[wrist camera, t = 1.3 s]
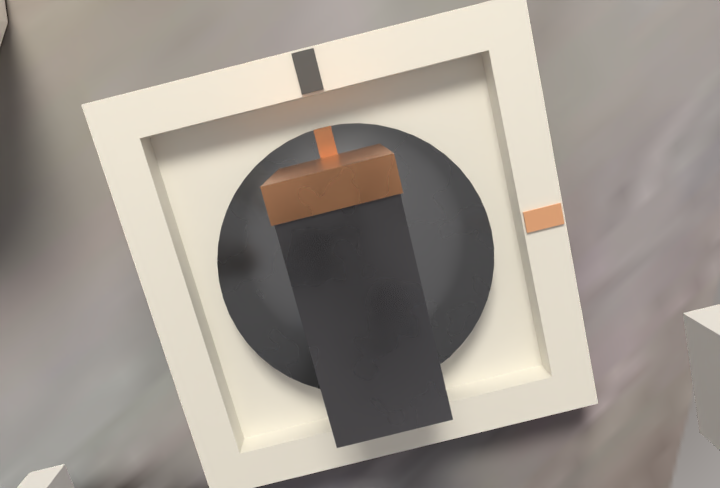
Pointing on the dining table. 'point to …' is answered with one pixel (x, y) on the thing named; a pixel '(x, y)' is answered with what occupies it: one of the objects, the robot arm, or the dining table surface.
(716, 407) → the robot arm
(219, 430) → the dial panel
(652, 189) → the dining table surface
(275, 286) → the dial
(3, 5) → the white cup
